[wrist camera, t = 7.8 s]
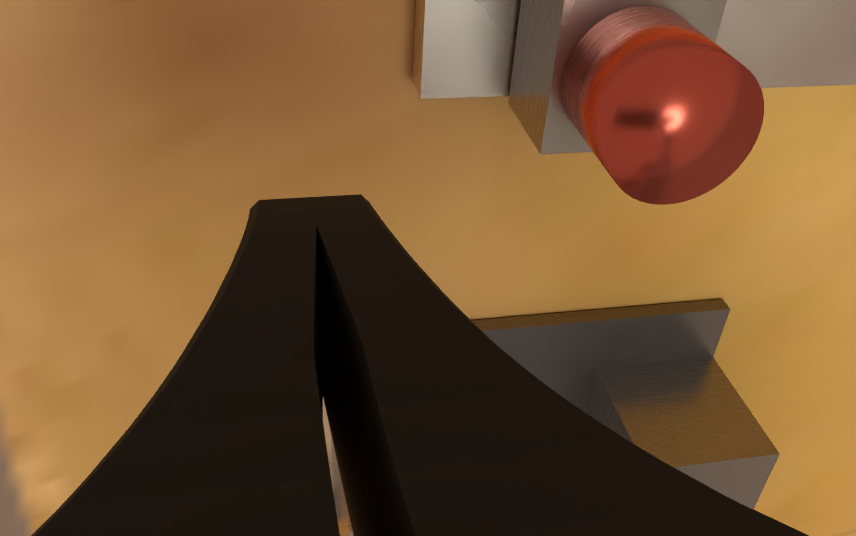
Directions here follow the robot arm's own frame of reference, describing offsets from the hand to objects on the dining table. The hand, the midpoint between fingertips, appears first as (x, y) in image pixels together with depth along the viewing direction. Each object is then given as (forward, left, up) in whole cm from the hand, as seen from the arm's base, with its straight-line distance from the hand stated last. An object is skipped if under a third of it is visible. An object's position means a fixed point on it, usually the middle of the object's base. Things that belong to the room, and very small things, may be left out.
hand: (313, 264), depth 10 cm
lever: (0, -7, -8) cm, 10 cm away
